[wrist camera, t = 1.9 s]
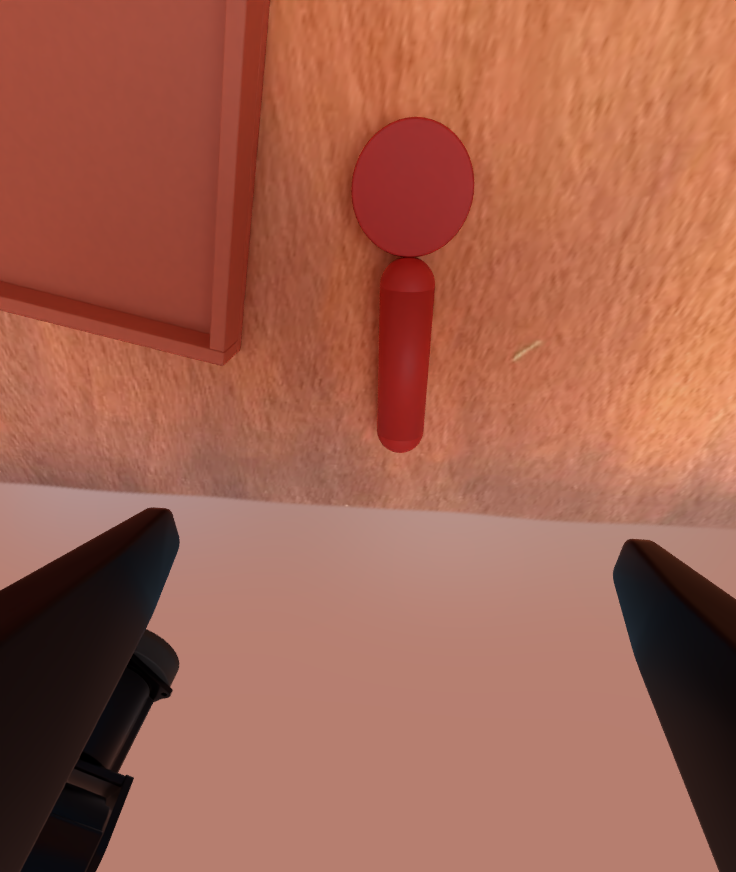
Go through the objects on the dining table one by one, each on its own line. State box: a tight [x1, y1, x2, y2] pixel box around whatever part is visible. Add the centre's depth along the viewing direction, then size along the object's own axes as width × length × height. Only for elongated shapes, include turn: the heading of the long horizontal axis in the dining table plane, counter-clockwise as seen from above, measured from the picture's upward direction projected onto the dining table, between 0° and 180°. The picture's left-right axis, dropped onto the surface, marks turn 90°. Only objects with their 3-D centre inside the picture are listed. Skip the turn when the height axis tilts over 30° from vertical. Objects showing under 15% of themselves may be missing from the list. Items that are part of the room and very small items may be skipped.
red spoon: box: [351, 117, 474, 453], centre depth 16 cm, size 12×4×2 cm, turn 0°
